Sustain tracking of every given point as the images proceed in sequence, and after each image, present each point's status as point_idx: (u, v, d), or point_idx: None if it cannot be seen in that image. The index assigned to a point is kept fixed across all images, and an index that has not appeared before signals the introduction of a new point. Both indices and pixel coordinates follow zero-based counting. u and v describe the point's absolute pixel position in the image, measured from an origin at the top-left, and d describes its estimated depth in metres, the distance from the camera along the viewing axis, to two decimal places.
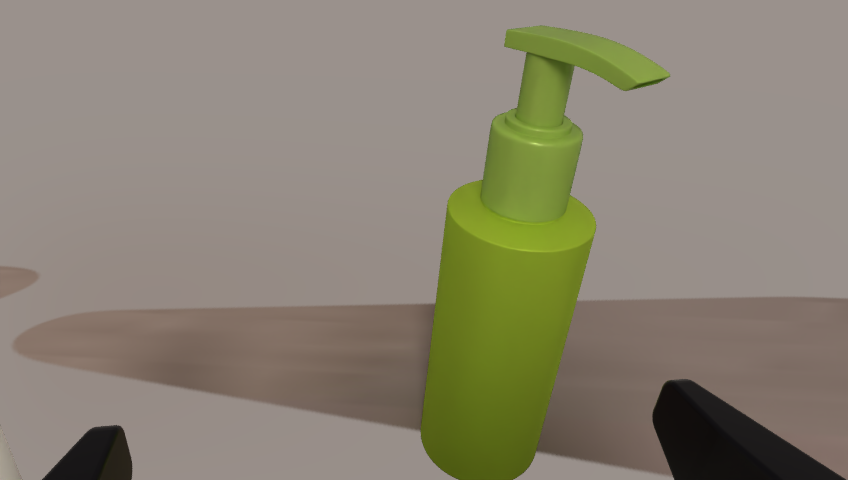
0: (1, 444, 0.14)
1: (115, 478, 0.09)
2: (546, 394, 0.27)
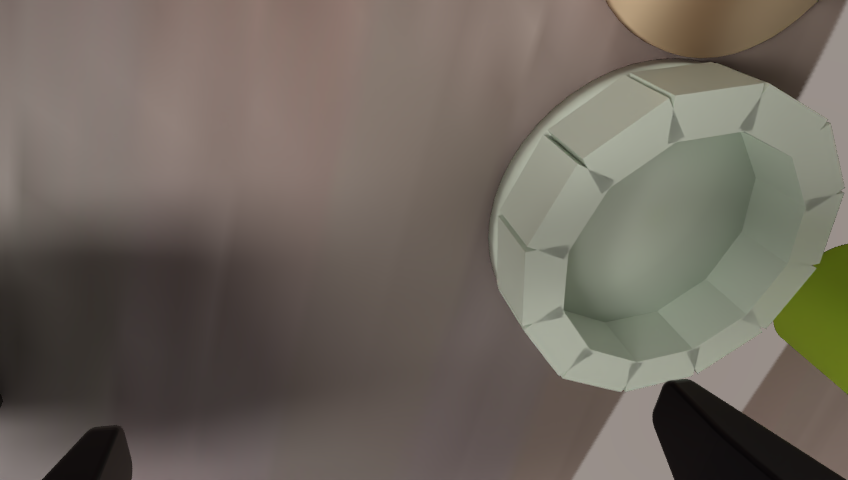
0: None
1: (115, 478, 0.09)
2: None
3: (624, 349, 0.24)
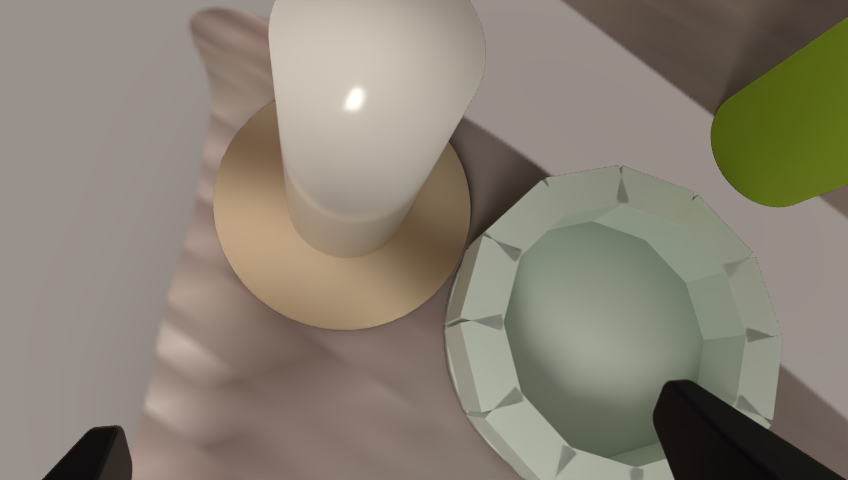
0: (484, 56, 0.13)
1: (115, 478, 0.09)
2: None
3: None
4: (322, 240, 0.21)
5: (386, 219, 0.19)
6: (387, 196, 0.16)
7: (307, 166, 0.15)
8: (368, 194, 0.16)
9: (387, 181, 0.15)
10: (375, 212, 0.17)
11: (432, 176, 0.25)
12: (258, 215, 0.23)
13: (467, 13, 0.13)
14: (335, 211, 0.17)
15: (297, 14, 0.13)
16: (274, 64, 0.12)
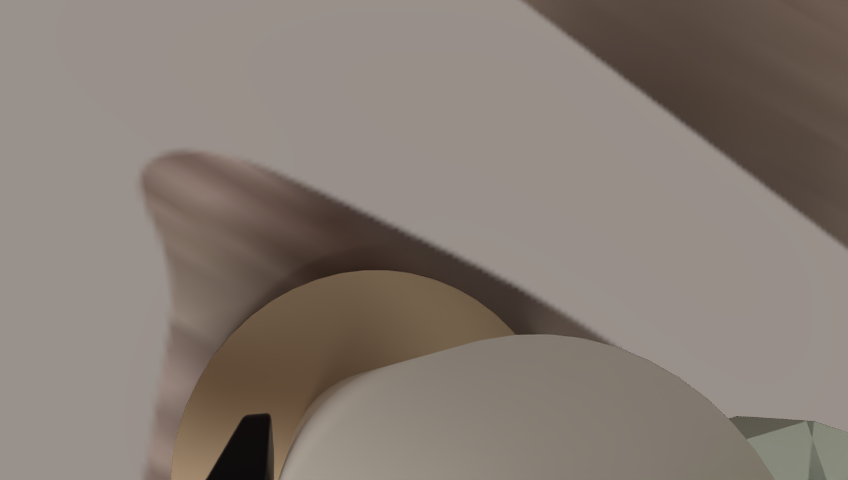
0: None
1: (270, 463, 0.09)
2: None
3: None
4: None
5: None
6: None
7: None
8: None
9: None
10: None
11: None
12: None
13: None
14: None
15: None
16: None
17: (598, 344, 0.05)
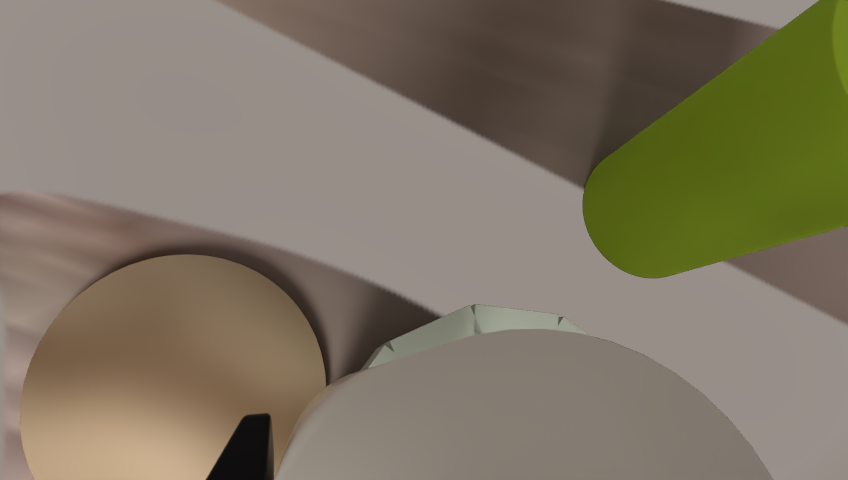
0: None
1: (271, 463, 0.09)
2: None
3: None
4: None
5: None
6: None
7: None
8: None
9: None
10: None
11: (275, 342, 0.22)
12: (77, 440, 0.20)
13: None
14: None
15: None
16: None
17: (592, 338, 0.05)
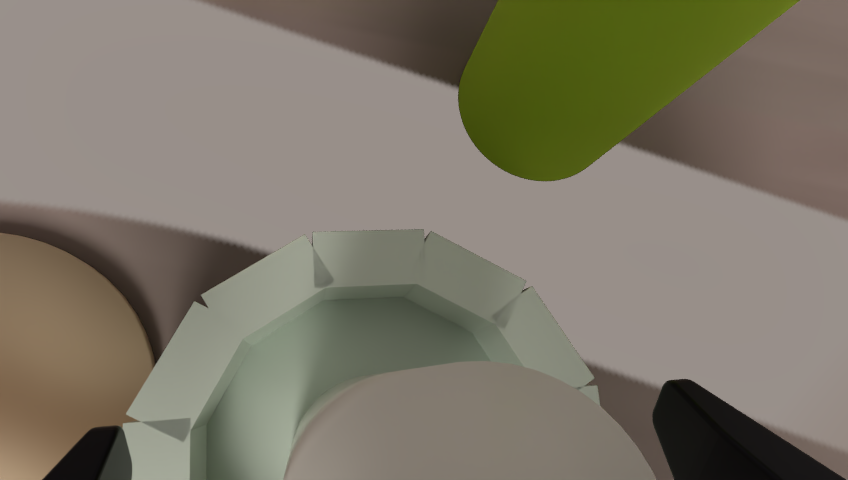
0: None
1: (115, 478, 0.09)
2: None
3: None
4: None
5: None
6: None
7: None
8: None
9: None
10: None
11: (76, 325, 0.17)
12: None
13: None
14: None
15: None
16: None
17: (523, 367, 0.07)
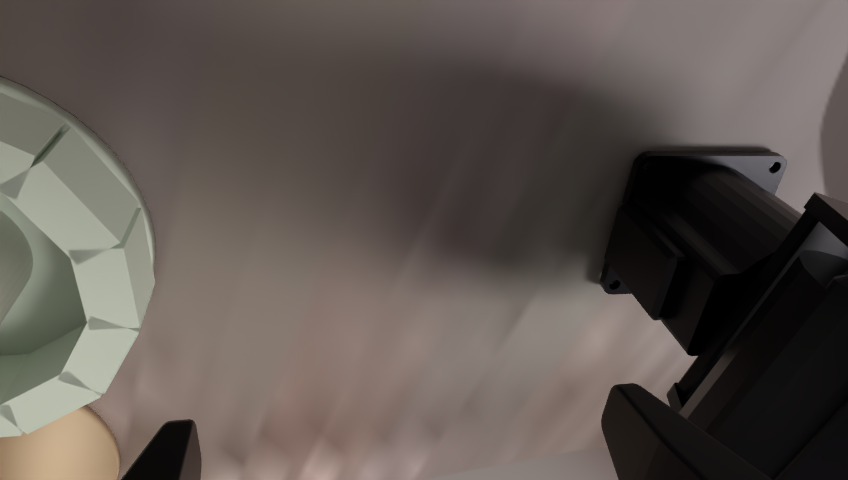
0: None
1: (191, 471, 0.09)
2: None
3: None
4: (7, 311, 0.19)
5: None
6: None
7: None
8: None
9: None
10: None
11: None
12: None
13: None
14: None
15: None
16: None
17: None
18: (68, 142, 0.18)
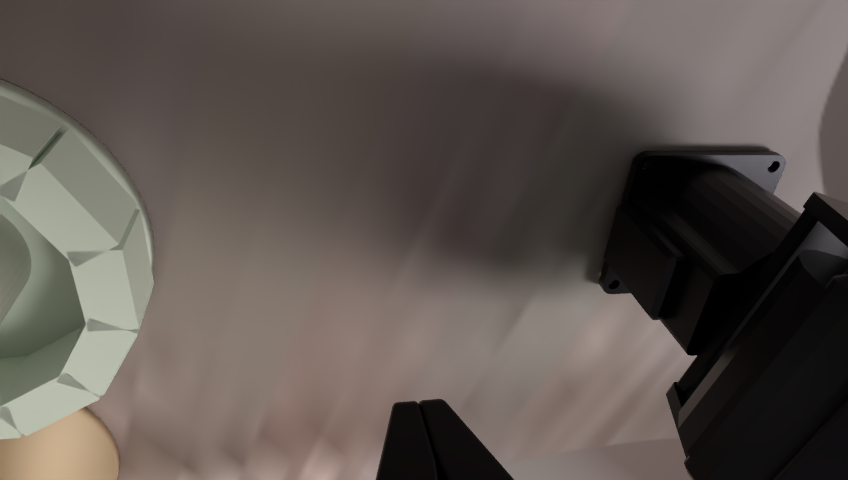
0: None
1: None
2: None
3: None
4: (6, 313, 0.19)
5: None
6: None
7: None
8: None
9: None
10: None
11: None
12: None
13: None
14: None
15: None
16: None
17: None
18: (66, 144, 0.18)
